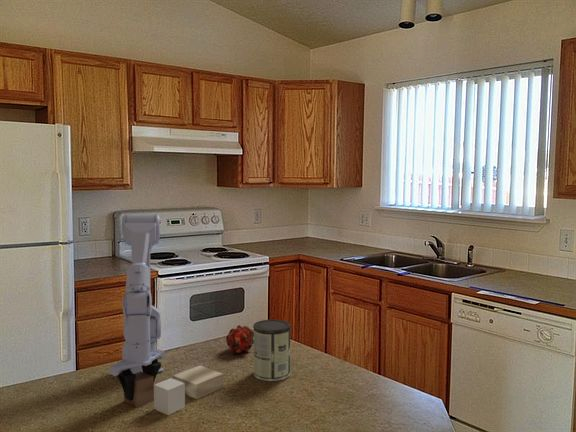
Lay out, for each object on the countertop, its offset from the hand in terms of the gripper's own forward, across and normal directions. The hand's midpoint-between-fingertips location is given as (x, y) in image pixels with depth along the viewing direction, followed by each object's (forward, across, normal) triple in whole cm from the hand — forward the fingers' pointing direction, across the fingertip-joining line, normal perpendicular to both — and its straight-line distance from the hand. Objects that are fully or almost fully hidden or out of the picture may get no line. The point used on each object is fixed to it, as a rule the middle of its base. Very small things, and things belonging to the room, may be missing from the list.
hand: (138, 395), depth 126 cm
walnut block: (+1, 0, 0) cm, 1 cm away
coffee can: (+2, +33, -15) cm, 36 cm away
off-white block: (+2, +2, -9) cm, 9 cm away
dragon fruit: (+2, +41, +4) cm, 41 cm away
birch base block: (+2, +14, -6) cm, 15 cm away
